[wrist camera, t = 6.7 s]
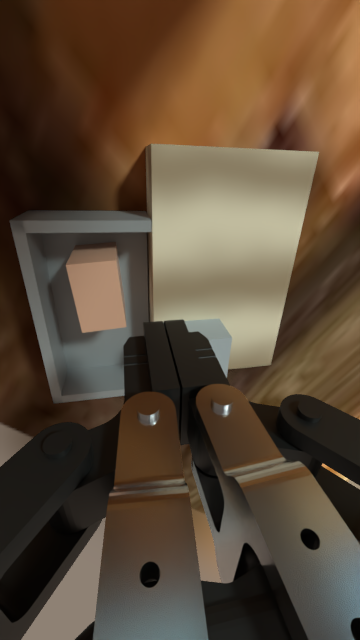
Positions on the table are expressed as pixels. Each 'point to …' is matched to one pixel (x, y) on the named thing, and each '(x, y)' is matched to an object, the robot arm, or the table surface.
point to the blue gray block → (214, 338)
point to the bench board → (225, 238)
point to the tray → (58, 302)
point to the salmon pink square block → (97, 286)
